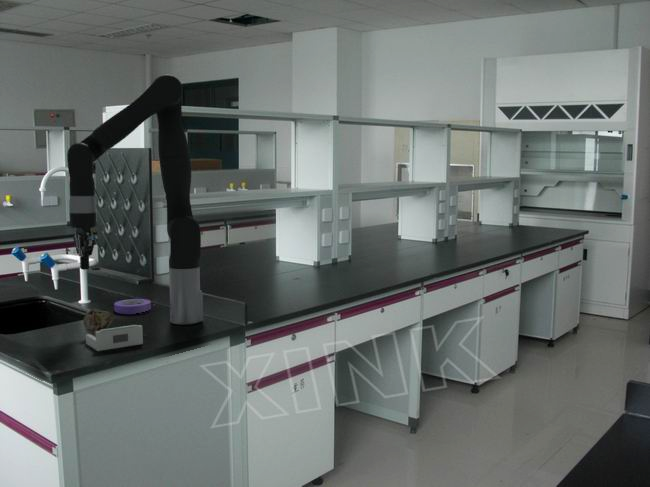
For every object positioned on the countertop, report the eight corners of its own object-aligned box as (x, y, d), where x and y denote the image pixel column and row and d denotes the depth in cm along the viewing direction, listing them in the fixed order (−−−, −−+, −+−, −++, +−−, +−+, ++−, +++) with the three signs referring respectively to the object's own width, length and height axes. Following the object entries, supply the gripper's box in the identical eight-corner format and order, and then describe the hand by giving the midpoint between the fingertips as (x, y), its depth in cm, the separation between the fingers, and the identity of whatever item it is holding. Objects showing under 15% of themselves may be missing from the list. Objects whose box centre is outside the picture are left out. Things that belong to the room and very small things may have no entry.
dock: (129, 336, 192) (129, 318, 192) (143, 343, 185) (142, 325, 184) (85, 343, 185) (85, 324, 184) (97, 351, 177) (97, 331, 177)
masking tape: (134, 318, 216) (133, 307, 216) (106, 315, 222) (106, 303, 221) (158, 312, 227) (158, 300, 226) (131, 308, 232) (131, 297, 232)
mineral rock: (91, 340, 189) (90, 311, 188) (79, 338, 191) (78, 310, 190) (118, 331, 198) (117, 304, 198) (106, 330, 200) (106, 303, 199)
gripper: (103, 212, 196) (104, 270, 198) (88, 209, 207) (90, 265, 209) (77, 212, 192) (79, 273, 194) (63, 210, 202) (65, 267, 204)
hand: (84, 269), depth 201 cm, fingers closed
